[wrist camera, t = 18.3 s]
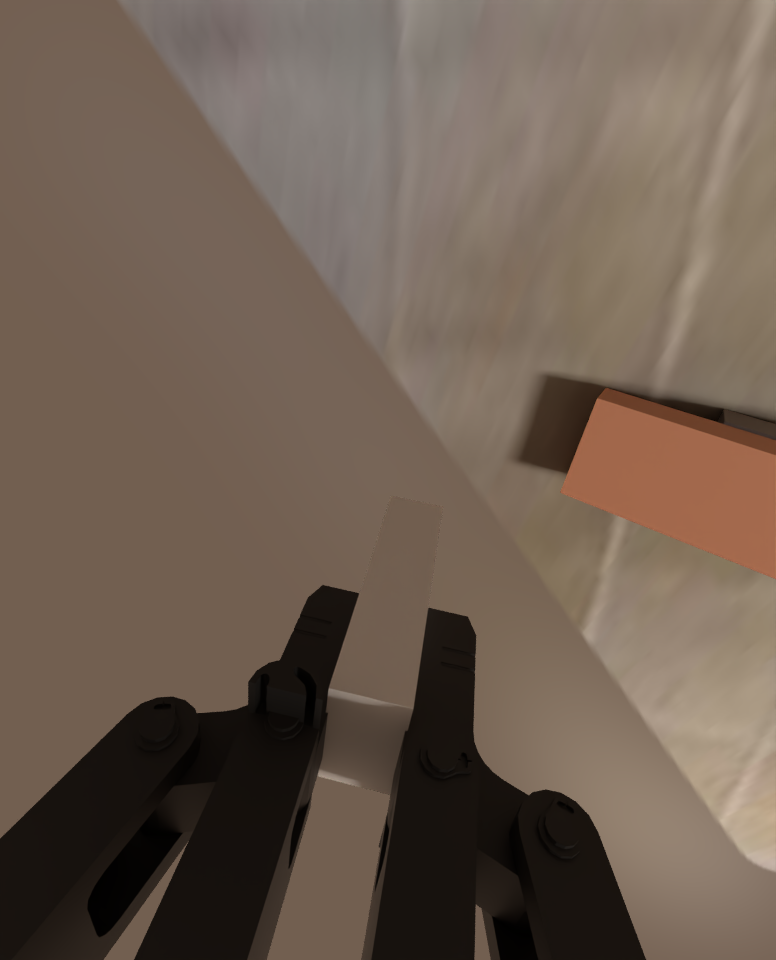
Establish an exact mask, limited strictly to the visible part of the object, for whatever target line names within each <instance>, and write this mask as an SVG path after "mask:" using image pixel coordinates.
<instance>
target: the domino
mask: <svg viewBox="0 0 776 960" xmlns="http://www.w3.org/2000/svg"><path fill="white" fill-rule="evenodd" d="M560 493H562V494H565V495H567V496H570V497H572V498H575V499H577V500H580V501H582V502H585V503H587V504H590V505H592V506H595V507H597V508H600V509H602V510H605V511H607V512H610V513H612V514H615V515H617V516H620V517H622V518H625V519H627V520H630V521H632V522H635V523H637V524H640V525H642V526H645V527H647V528H650V529H652V530H655V531H657V532H660V533H662V534H665V535H667V536H670V537H672V538H675V539H677V540H680V541H682V542H685V543H687V544H690V545H692V546H695V547H697V548H700V549H702V550H705V551H707V552H710V553H712V554H715V555H717V556H720V557H722V558H725V559H727V560H730V561H732V562H735V563H737V564H740V565H742V566H745V567H747V568H750V569H752V570H755V571H757V572H760V573H762V574H765V575H767V576H770V577H772V578H775V579H776V440H773V439H770V438H767V437H763V436H760V435H757V434H754V433H750V432H747V431H744V430H741V429H738V428H734V427H731V426H728V425H725V424H721V423H718V422H715V421H712V420H709V419H705V418H702V417H699V416H696V415H692V414H689V413H686V412H683V411H680V410H676V409H673V408H670V407H667V406H663V405H660V404H657V403H654V402H651V401H647V400H644V399H641V398H638V397H634V396H631V395H628V394H625V393H622V392H618V391H615V390H612V389H609V388H605V390H604V391H603V392H602V393H601V394H600V395H599V397H598V398H597V400H596V403H595V405H594V408H593V410H592V413H591V415H590V418H589V420H588V423H587V426H586V428H585V431H584V433H583V436H582V438H581V441H580V443H579V446H578V448H577V451H576V453H575V456H574V459H573V461H572V464H571V466H570V469H569V471H568V474H567V476H566V479H565V481H564V484H563V487H562V489H561V492H560Z"/></svg>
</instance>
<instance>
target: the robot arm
mask: <svg viewBox="0 0 776 960" xmlns="http://www.w3.org/2000/svg"><path fill="white" fill-rule="evenodd" d="M442 510H443V506H437V505H433V504H428V503H424V502H419V501H414V500H410V499H405V498H400V497H395V496H391V497H390V501H389V504H388V507H387V510H386V513H385V516H384V519H383V522H382V525H381V528H380V531H379V534H378V538H377V541H376V544H375V547H374V550H373V553H372V556H371V559H370V562H369V565H368V568H367V571H366V575H365V578H364V581H363V584H362V587H361V590H360V593H355V592H351V591H347V590H342V589H338V588H333V587H329V586H324V585H322V586H321V587H320V588H319V589H318V590H316V591H315V592H314V593H313V594H312V595H311V596H309V597H308V599H307V601H306V604H305V605H304V608H303V610H302V612H301V614H300V618H299V619H298V621H297V623H296V626H295V628H294V631H293V633H292V635H291V637H290V639H289V641H288V644H287V646H286V648H285V650H284V653H283V655H282V657H281V659H280V660H279V661H275V662H271V663H268V664H267V665H265V666H263V667H262V668H260V669H259V670H257V671H256V672H255V674H254V675H253V676H252V678H251V679H250V680H249V682H248V686H249V687H248V697H249V698H248V699H249V700H248V705H247V706H244V707H242V708H239V709H236V710H231V711H224V712H210V713H196V710H195V708H194V707H192V706H191V705H190V704H189V703H188V702H186V701H185V700H182V699H178V698H175V697H160V698H155V699H153V700H150V701H147V702H144V703H142V704H140V705H139V706H138V707H136V708H135V709H133V710H132V711H131V712H129V713H128V714H127V715H126V716H125V717H124V718H123V719H122V720H121V721H120V722H119V723H118V724H117V725H116V726H115V727H114V728H113V729H112V730H111V731H110V732H109V733H108V734H107V735H106V736H105V737H104V738H103V739H101V740H100V741H99V742H98V743H97V744H96V745H95V747H93V748H92V749H91V750H90V752H88V753H87V754H86V755H85V756H84V757H83V758H82V759H81V760H80V761H79V762H78V763H77V764H76V765H75V766H74V767H73V768H72V769H71V770H70V771H69V772H68V773H67V774H66V775H65V776H64V777H63V778H62V779H61V780H60V781H59V782H58V783H57V784H56V785H55V786H54V787H52V788H51V790H49V792H47V793H46V795H44V796H43V797H42V798H41V799H40V800H39V801H38V802H37V803H36V804H35V805H34V806H33V807H32V808H31V809H30V810H29V811H28V812H27V813H26V814H25V815H24V816H23V817H22V818H21V819H20V820H19V821H18V822H17V823H16V824H15V825H14V826H13V827H12V828H11V829H10V830H9V831H8V832H7V833H6V834H5V835H3V836H2V837H1V838H0V960H104V958H105V957H106V955H107V954H108V952H109V951H110V950H111V948H112V947H113V945H114V944H115V943H116V941H117V940H118V939H119V937H120V936H121V934H122V933H123V932H124V930H125V929H126V927H127V926H128V925H129V923H130V922H131V920H132V919H133V918H134V916H135V915H136V913H137V912H138V911H139V909H140V908H141V906H142V905H143V904H144V902H145V901H146V899H147V898H148V897H149V895H150V894H151V892H152V891H153V890H154V888H155V887H156V886H157V884H158V883H159V881H160V880H161V879H162V877H163V876H164V874H165V873H166V872H167V870H168V869H169V867H170V866H171V865H172V863H173V862H174V860H175V859H176V857H177V856H178V854H179V853H180V852H181V851H182V849H183V848H184V846H185V845H186V844H187V842H188V841H189V842H188V844H187V846H186V848H185V851H184V853H183V855H182V857H181V859H180V861H179V863H178V866H177V868H176V870H175V872H174V874H173V877H172V879H171V881H170V883H169V885H168V887H167V890H166V892H165V894H164V896H163V898H162V900H161V903H160V905H159V907H158V909H157V911H156V913H155V916H154V918H153V920H152V922H151V924H150V926H149V929H148V931H147V933H146V935H145V937H144V939H143V942H142V944H141V946H140V948H139V950H138V952H137V955H136V957H135V959H134V960H267V956H268V953H269V949H270V946H271V942H272V939H273V935H274V932H275V928H276V925H277V921H278V918H279V914H280V911H281V908H282V904H283V900H284V897H285V893H286V890H287V887H288V883H289V880H290V876H291V873H292V869H293V866H294V863H295V859H296V856H297V852H298V849H299V845H300V842H301V838H302V835H303V831H304V827H305V824H306V821H307V817H308V814H309V810H310V806H311V796H312V792H313V788H314V785H315V781H316V778H317V775H318V776H319V777H323V778H327V779H330V780H335V781H339V782H342V783H346V784H350V785H354V786H358V787H361V788H365V789H369V790H373V791H377V792H381V793H385V794H388V795H390V801H389V807H388V813H387V817H386V821H385V825H384V828H383V833H382V836H381V840H380V843H379V847H380V853H379V859H378V864H377V870H376V876H375V882H374V888H373V894H372V900H371V906H370V912H369V919H368V924H367V930H366V936H365V941H364V948H363V953H362V959H361V960H474V952H475V951H474V950H475V905H476V904H477V905H478V906H479V907H481V908H482V912H483V918H484V924H485V929H486V935H487V940H488V946H489V952H490V957H491V960H646V959H645V956H644V953H643V950H642V948H641V945H640V942H639V940H638V937H637V934H636V932H635V929H634V926H633V924H632V921H631V918H630V916H629V913H628V911H627V908H626V905H625V903H624V900H623V897H622V894H621V892H620V889H619V887H618V884H617V881H616V879H615V876H614V873H613V871H612V868H611V865H610V863H609V860H608V858H607V855H606V852H605V850H604V847H603V844H602V841H601V839H600V836H599V834H598V831H597V829H596V827H595V826H594V824H593V822H592V820H591V819H590V816H589V815H588V814H587V813H586V812H585V811H584V810H583V809H582V808H581V807H580V806H579V804H578V803H577V802H576V801H574V800H572V799H570V798H569V797H567V796H565V795H564V794H562V793H559V792H555V791H550V790H542V791H537V792H533V793H531V794H530V795H527V794H525V793H524V792H522V791H521V790H519V789H517V788H515V787H514V786H512V785H511V784H509V783H507V782H506V781H504V780H503V779H501V778H500V777H499V776H497V775H496V774H495V773H493V772H492V771H491V770H490V768H489V767H488V766H487V765H486V764H485V763H484V761H483V760H482V758H481V757H480V755H479V753H478V751H477V748H476V745H475V743H474V734H473V721H474V719H473V718H474V688H475V687H474V686H475V653H476V634H475V632H474V630H473V627H472V625H471V623H470V621H469V619H468V617H467V616H462V615H458V614H454V613H449V612H445V611H440V610H436V609H432V608H428V605H429V599H430V592H431V585H432V578H433V572H434V565H435V558H436V551H437V544H438V538H439V531H440V524H441V517H442ZM189 839H190V840H189Z"/></svg>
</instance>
